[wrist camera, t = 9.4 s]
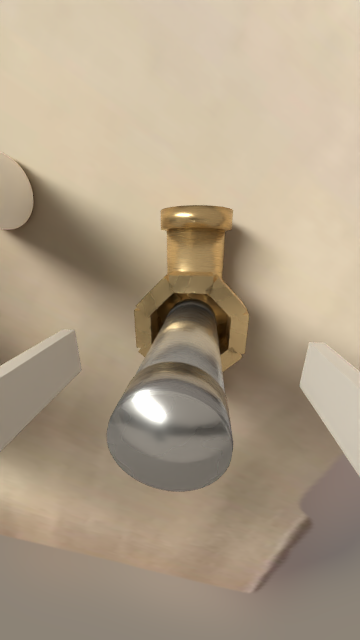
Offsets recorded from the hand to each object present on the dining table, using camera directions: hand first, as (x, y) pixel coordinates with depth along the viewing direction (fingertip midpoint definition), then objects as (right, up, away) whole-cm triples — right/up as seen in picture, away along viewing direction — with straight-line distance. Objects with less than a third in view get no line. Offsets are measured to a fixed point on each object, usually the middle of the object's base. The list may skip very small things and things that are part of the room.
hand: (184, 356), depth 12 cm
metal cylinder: (+1, +2, +6) cm, 6 cm away
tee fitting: (+1, +4, +12) cm, 12 cm away
